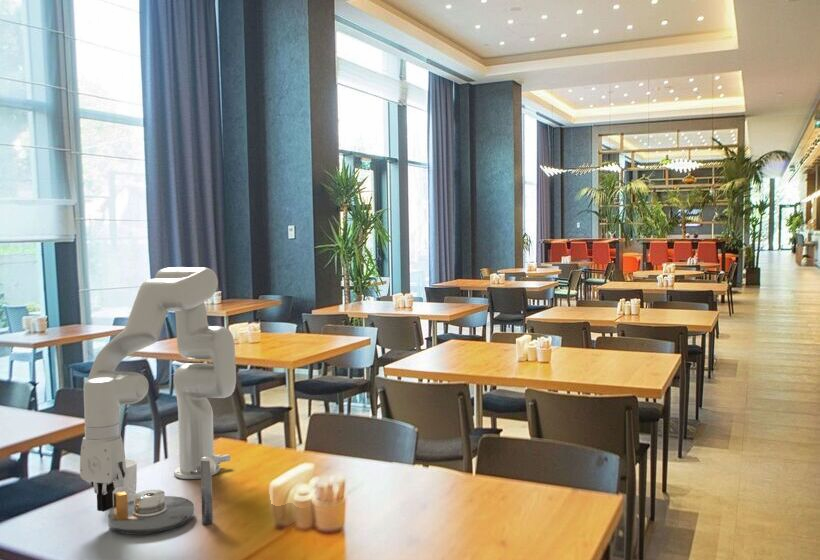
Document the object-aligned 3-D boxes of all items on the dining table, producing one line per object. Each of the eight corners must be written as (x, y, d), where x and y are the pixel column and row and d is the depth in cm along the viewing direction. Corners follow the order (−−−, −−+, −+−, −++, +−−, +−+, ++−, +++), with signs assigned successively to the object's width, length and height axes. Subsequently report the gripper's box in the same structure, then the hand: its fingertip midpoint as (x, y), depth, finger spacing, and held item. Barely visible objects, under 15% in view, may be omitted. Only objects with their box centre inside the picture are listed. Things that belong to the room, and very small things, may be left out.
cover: (159, 503, 174) (158, 486, 174) (171, 511, 168) (171, 494, 168) (127, 510, 169) (127, 494, 169) (139, 520, 163) (138, 502, 163)
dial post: (218, 521, 169) (216, 455, 168) (214, 525, 167) (213, 458, 166) (194, 520, 170) (192, 455, 169) (190, 524, 167) (188, 458, 166)
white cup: (126, 509, 178) (125, 469, 177) (98, 507, 179) (96, 468, 179) (144, 498, 185) (143, 460, 185) (116, 496, 187) (115, 458, 186)
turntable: (178, 497, 182) (177, 469, 182) (205, 520, 167) (205, 489, 167) (99, 515, 171) (98, 485, 171) (121, 541, 156) (120, 508, 155)
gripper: (65, 432, 165) (68, 510, 166) (114, 438, 159) (117, 519, 160) (91, 424, 172) (94, 499, 173) (139, 430, 166) (141, 508, 167)
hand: (105, 509), depth 167 cm, fingers closed
